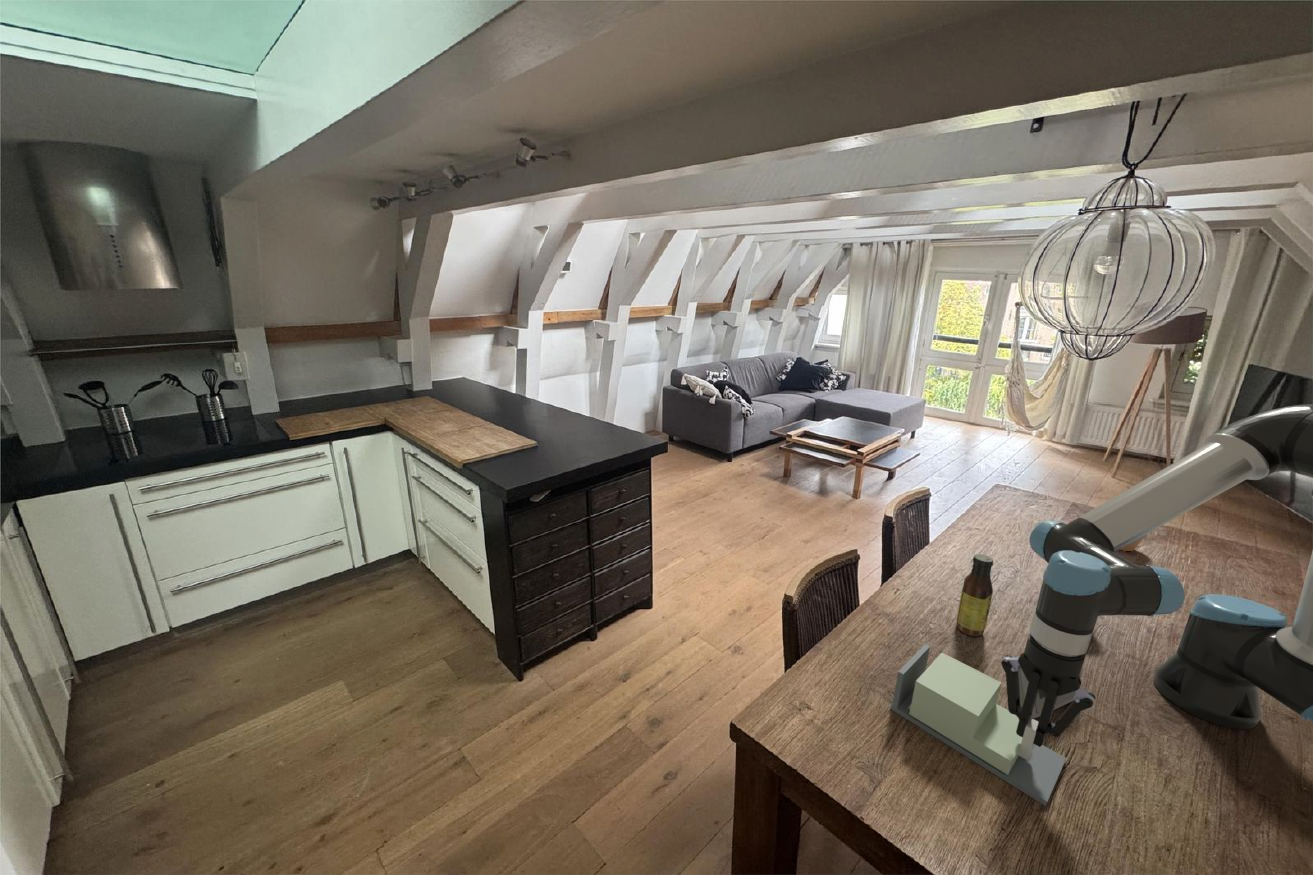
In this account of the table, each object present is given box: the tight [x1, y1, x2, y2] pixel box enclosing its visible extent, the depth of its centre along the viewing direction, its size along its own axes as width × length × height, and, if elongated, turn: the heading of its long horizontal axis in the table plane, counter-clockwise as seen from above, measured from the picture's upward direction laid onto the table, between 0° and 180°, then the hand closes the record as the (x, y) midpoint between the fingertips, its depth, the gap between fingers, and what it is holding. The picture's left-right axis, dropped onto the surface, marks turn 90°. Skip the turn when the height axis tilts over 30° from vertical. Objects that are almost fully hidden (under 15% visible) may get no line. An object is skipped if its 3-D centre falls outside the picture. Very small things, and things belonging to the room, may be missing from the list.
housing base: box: [890, 643, 1067, 807], centre depth 95 cm, size 26×12×9 cm, turn 41°
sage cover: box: [909, 652, 1022, 775], centre depth 96 cm, size 17×12×8 cm
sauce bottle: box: [956, 553, 994, 637], centre depth 123 cm, size 7×6×20 cm
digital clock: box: [1018, 667, 1075, 719], centre depth 103 cm, size 16×9×11 cm, turn 101°
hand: (1025, 753), depth 90 cm, fingers closed
